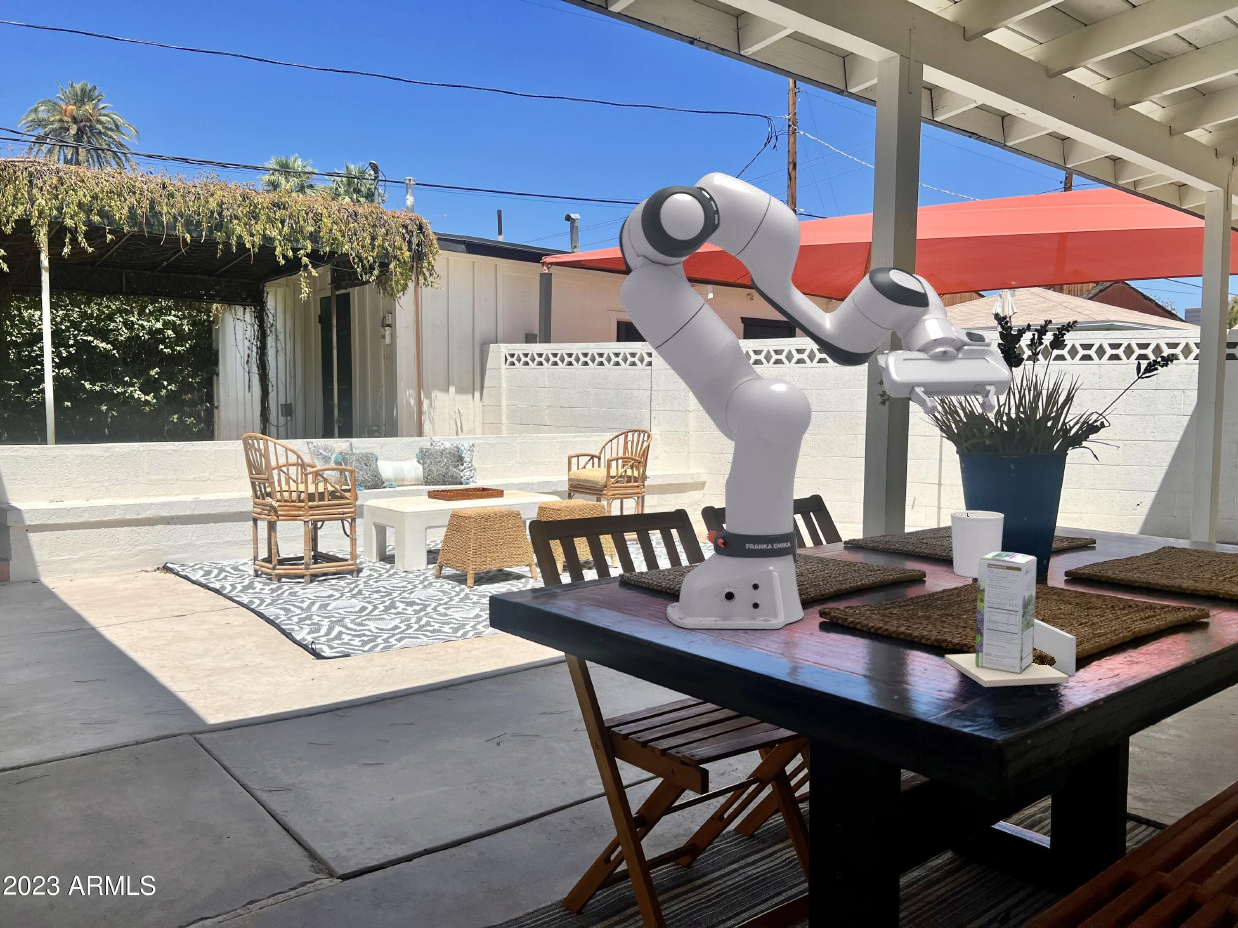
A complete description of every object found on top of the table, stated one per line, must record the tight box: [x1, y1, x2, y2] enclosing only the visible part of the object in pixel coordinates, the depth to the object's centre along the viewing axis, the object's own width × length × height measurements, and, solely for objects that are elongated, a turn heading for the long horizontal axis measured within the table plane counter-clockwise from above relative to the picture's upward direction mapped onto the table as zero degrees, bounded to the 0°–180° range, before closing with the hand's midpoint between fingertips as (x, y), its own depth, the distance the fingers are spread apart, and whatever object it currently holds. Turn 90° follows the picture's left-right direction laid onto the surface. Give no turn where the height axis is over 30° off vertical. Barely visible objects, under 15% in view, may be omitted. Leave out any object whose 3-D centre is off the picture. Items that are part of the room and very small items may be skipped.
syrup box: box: [975, 551, 1038, 673], centre depth 118 cm, size 6×6×14 cm
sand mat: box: [944, 653, 1070, 688], centre depth 118 cm, size 11×11×1 cm
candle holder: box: [950, 510, 1005, 579], centre depth 179 cm, size 10×10×12 cm
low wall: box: [1033, 617, 1077, 677], centre depth 124 cm, size 1×16×5 cm, turn 5°
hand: (960, 410), depth 141 cm, fingers open, 8 cm apart
